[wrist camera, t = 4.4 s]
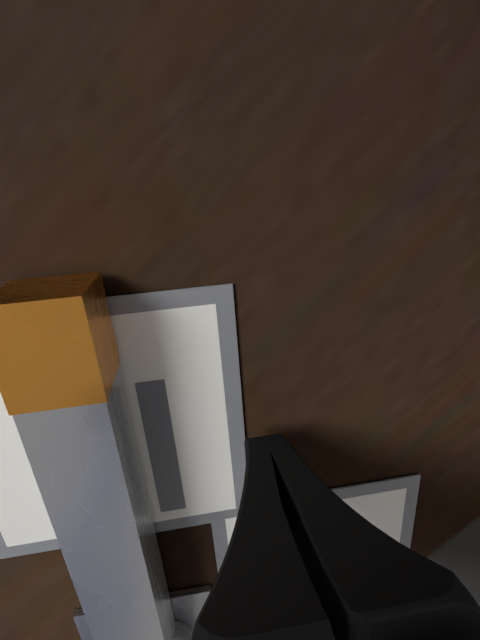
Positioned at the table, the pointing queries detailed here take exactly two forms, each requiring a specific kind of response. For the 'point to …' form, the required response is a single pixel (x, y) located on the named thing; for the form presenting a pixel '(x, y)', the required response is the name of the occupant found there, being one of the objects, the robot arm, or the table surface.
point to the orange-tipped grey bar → (85, 451)
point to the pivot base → (183, 606)
